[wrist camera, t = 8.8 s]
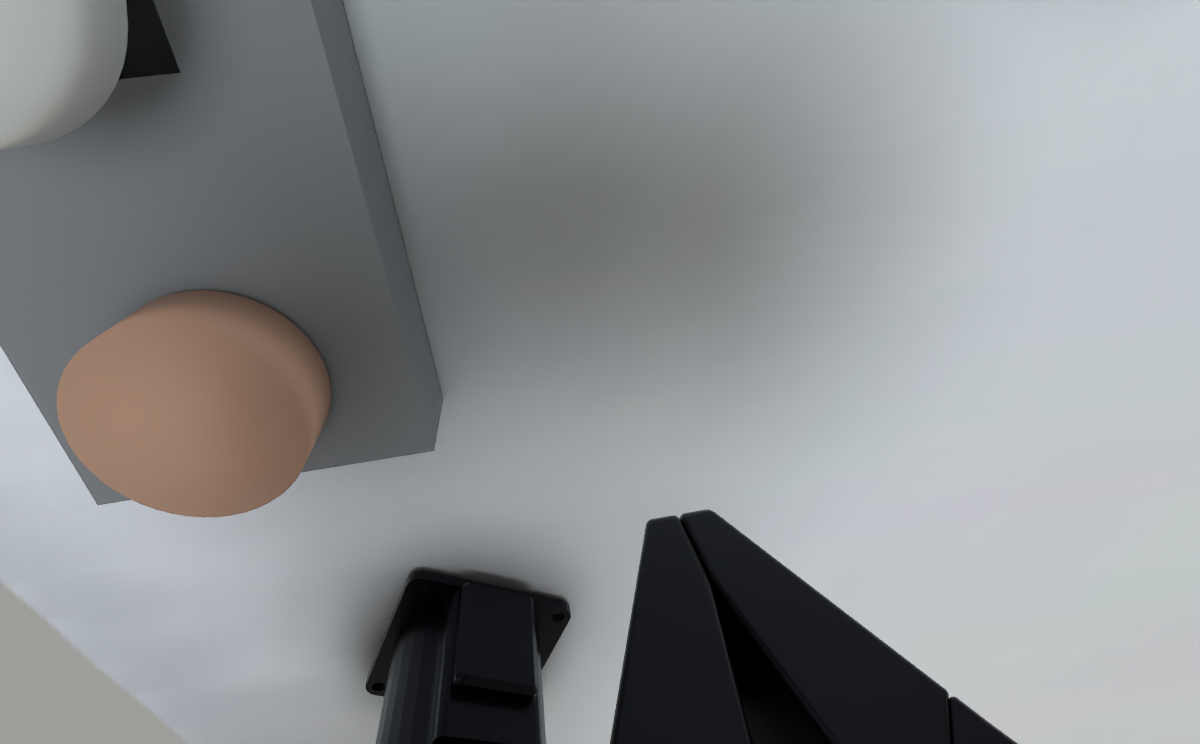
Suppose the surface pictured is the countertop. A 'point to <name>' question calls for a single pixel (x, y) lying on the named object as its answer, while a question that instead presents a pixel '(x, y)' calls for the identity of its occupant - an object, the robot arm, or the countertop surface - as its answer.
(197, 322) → the knob
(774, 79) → the countertop surface
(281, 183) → the knob strip
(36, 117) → the knob middle
